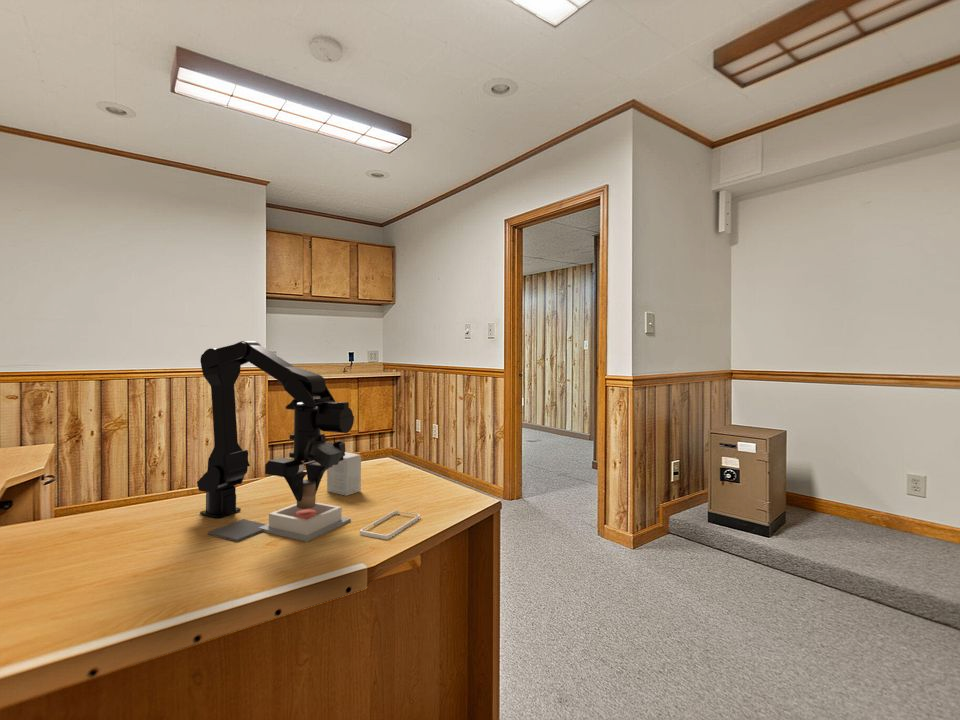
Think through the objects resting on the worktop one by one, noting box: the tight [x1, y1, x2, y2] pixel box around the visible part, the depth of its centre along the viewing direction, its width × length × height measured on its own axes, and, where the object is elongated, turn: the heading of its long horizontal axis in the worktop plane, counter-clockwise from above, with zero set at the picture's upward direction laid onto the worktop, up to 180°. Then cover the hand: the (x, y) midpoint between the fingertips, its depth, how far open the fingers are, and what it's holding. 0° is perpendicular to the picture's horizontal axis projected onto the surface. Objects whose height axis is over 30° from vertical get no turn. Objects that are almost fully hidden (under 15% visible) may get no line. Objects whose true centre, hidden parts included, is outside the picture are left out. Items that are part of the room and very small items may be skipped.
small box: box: [326, 451, 362, 496], centre depth 137 cm, size 8×6×10 cm
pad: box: [207, 518, 267, 543], centre depth 106 cm, size 9×9×1 cm
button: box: [296, 509, 316, 520], centre depth 110 cm, size 4×4×1 cm
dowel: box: [296, 479, 317, 509], centre depth 110 cm, size 4×4×6 cm
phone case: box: [359, 510, 421, 540], centre depth 111 cm, size 7×1×15 cm
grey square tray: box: [258, 501, 351, 543], centre depth 110 cm, size 14×14×4 cm
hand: (306, 498), depth 110 cm, fingers closed on dowel, 4 cm apart
